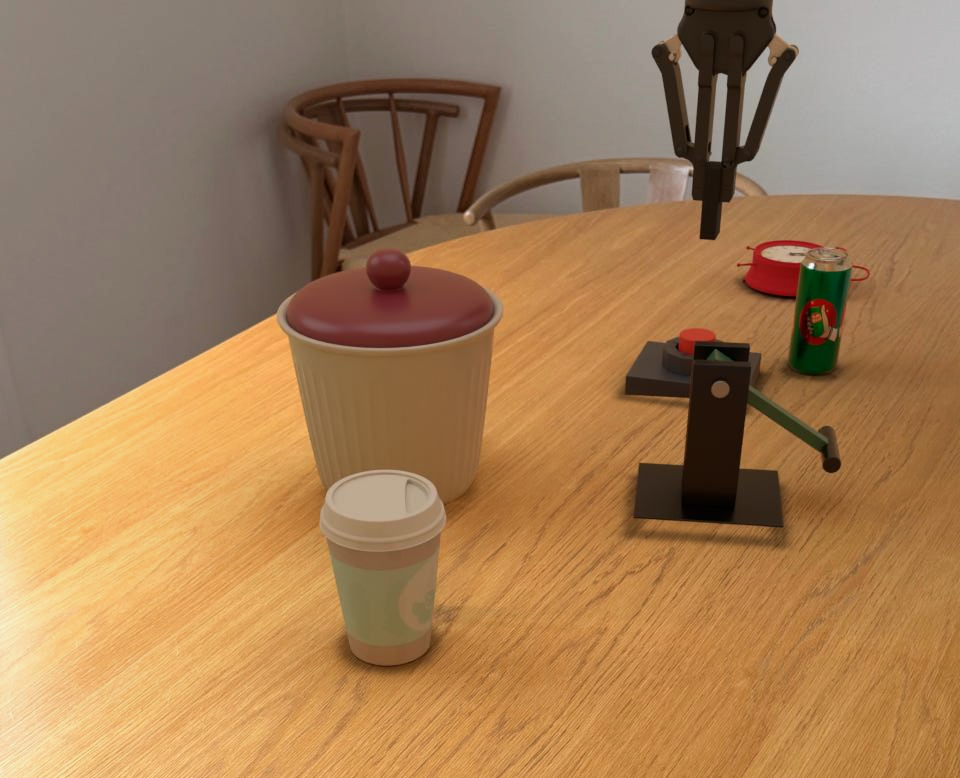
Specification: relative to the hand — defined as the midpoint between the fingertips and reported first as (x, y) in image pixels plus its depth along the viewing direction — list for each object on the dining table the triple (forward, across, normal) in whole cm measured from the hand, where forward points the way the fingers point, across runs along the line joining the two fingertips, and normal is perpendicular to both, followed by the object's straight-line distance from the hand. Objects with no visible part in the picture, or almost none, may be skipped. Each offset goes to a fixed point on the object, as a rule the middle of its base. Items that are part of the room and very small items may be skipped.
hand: (709, 235), depth 120 cm
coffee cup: (+15, +12, +53) cm, 57 cm away
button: (+12, 0, 0) cm, 12 cm away
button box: (+15, 0, 0) cm, 15 cm away
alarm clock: (+15, -7, -34) cm, 38 cm away
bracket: (+15, -6, +26) cm, 31 cm away
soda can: (+16, -11, -8) cm, 20 cm away
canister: (+15, +20, +31) cm, 40 cm away
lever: (+7, -9, +25) cm, 28 cm away
